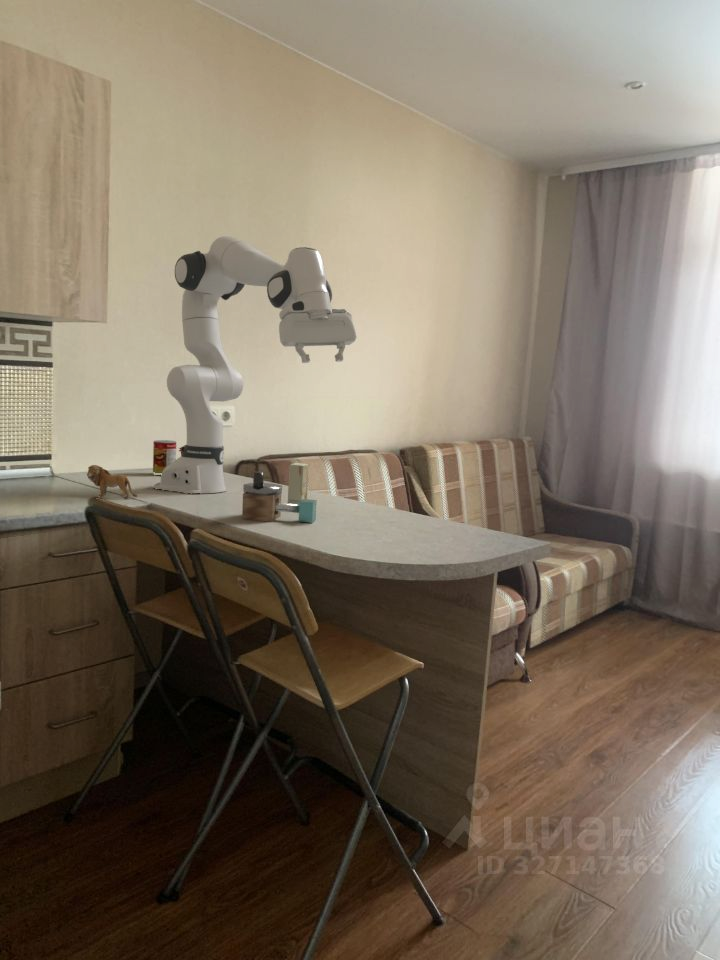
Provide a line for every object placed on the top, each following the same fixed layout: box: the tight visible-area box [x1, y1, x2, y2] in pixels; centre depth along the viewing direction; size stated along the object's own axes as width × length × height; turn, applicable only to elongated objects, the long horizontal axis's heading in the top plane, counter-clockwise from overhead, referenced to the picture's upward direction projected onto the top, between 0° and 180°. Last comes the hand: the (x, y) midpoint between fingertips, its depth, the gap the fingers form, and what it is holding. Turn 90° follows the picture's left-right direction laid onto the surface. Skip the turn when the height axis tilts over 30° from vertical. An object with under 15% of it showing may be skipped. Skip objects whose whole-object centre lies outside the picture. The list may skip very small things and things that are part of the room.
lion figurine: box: [86, 464, 138, 500], centre depth 209 cm, size 15×5×9 cm, turn 87°
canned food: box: [152, 439, 177, 473], centre depth 258 cm, size 8×8×12 cm
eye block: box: [241, 492, 282, 522], centre depth 190 cm, size 8×8×7 cm
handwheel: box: [242, 471, 283, 495], centre depth 189 cm, size 10×10×6 cm
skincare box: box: [287, 462, 310, 505], centre depth 211 cm, size 6×4×12 cm
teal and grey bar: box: [275, 498, 317, 523], centre depth 190 cm, size 19×4×5 cm, turn 80°
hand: (323, 361), depth 184 cm, fingers open, 8 cm apart
